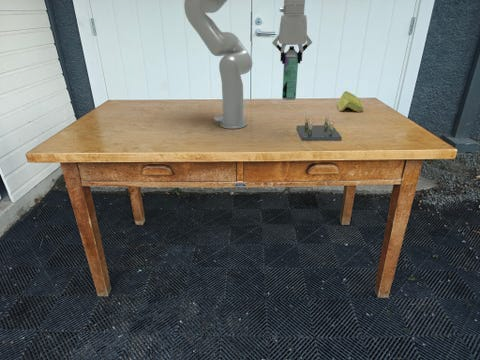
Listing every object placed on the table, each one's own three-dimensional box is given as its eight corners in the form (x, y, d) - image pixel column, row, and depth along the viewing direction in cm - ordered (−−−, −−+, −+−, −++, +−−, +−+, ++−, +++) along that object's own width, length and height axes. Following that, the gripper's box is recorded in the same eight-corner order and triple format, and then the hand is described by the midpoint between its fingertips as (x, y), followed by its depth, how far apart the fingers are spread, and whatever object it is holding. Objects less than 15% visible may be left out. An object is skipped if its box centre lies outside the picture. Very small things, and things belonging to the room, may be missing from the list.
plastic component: (364, 108, 166) (347, 100, 165) (355, 120, 170) (339, 112, 169) (358, 97, 183) (343, 89, 182) (351, 108, 187) (336, 100, 186)
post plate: (302, 140, 131) (303, 125, 128) (296, 128, 145) (297, 114, 142) (341, 140, 130) (343, 125, 128) (331, 128, 145) (333, 114, 142)
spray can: (294, 97, 133) (297, 45, 124) (296, 100, 129) (300, 46, 119) (281, 97, 133) (283, 45, 124) (283, 100, 128) (285, 46, 119)
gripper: (271, 11, 113) (269, 64, 122) (319, 10, 113) (314, 64, 121) (269, 11, 120) (268, 62, 128) (315, 10, 120) (311, 61, 128)
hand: (290, 62), depth 125 cm, fingers closed on spray can, 5 cm apart
